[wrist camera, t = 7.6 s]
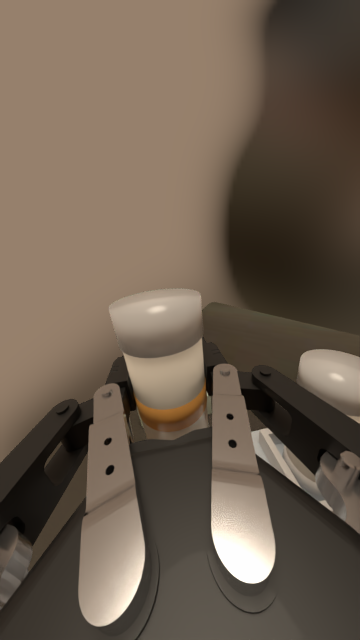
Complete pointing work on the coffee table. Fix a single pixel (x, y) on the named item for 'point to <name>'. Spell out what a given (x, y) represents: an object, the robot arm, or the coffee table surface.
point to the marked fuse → (164, 359)
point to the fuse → (326, 398)
